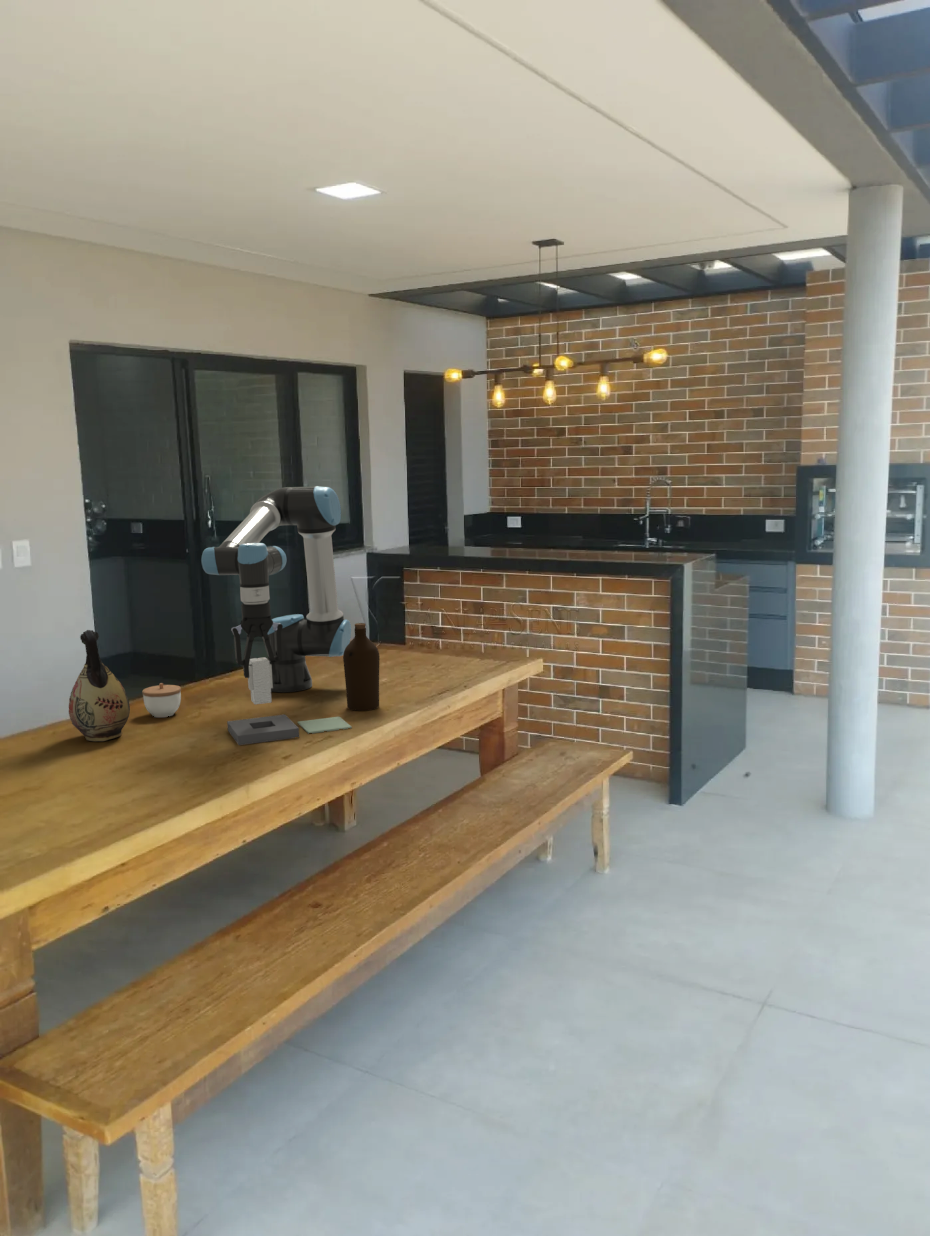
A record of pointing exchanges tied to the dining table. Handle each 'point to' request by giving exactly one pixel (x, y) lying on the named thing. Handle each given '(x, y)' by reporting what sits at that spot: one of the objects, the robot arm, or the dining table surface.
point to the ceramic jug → (97, 697)
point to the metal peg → (260, 681)
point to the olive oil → (361, 671)
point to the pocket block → (262, 729)
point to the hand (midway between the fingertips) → (260, 688)
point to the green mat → (324, 725)
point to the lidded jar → (162, 699)
